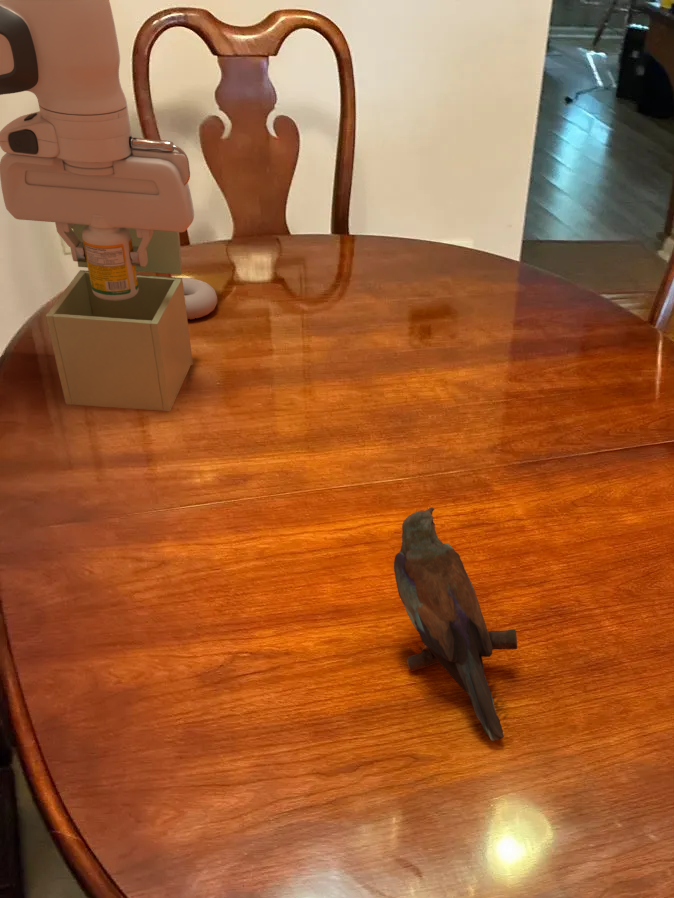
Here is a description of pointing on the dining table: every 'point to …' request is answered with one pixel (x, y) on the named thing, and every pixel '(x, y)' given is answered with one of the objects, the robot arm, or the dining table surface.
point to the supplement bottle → (109, 260)
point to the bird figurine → (447, 614)
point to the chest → (122, 344)
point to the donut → (198, 298)
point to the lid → (152, 251)
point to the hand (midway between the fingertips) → (110, 262)
